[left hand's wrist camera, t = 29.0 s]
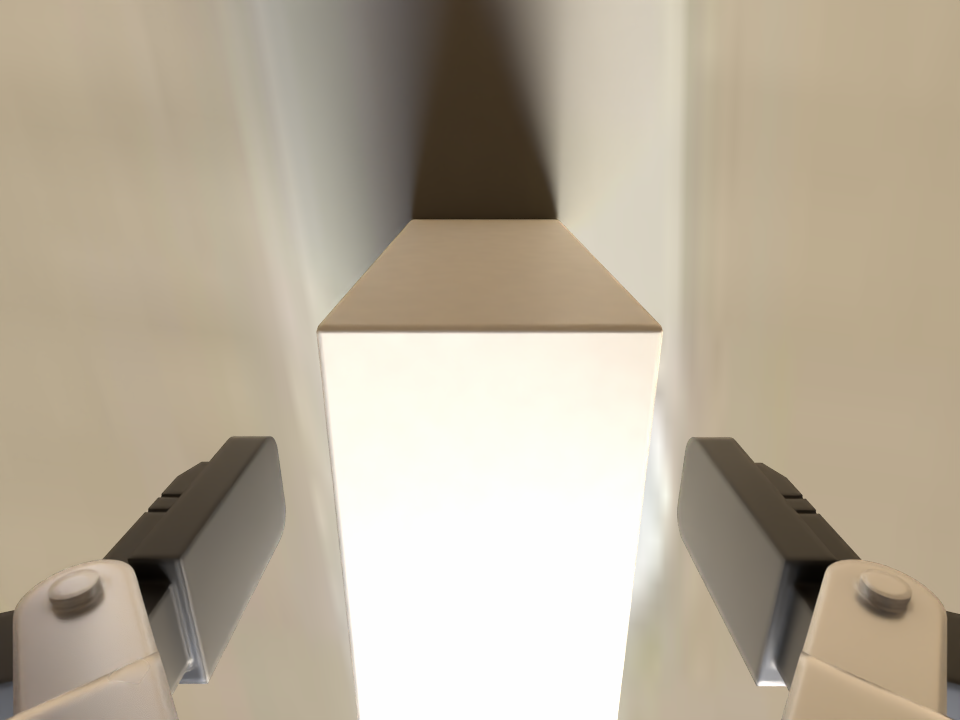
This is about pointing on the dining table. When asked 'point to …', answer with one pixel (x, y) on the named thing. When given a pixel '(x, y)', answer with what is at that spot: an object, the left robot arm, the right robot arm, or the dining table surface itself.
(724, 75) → the dining table surface
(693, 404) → the dining table surface
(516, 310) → the brick
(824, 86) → the dining table surface
